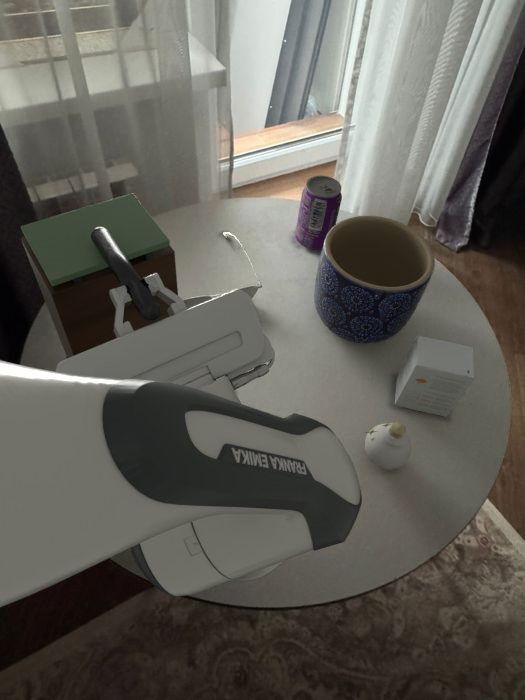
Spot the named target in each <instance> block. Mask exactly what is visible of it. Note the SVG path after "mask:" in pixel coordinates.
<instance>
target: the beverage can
mask: <svg viewBox="0 0 525 700" xmlns="http://www.w3.org/2000/svg"><path fill="white" fill-rule="evenodd" d="M342 200H343V194H342V185H341V183H340V182H339V181H338V180H337V179H335V178H333V177H332V176H329V175H314V176H311V177H309V178H308V179H307V180H306V183H305V186H304V187H303V188H302V191H301V195H300V202H299V208H298V216H297V222H296V227H295V234H294V237H295V239H296V241H297V242H298V244H299V245H301V246H302V247H305V248H308V249H311V250H312V249H313V250H322V247H323V244H324V240H325V237H326V235H327V233H328V232H329V230H330V229H331V228H332V227H333V226H334V225H336V224H337V221H338V217H339V213H340V209H341V204H342Z"/></svg>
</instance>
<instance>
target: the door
mask: <svg viewBox="0 0 525 700" xmlns="http://www.w3.org/2000/svg"><path fill="white" fill-rule="evenodd" d="M20 229H21V233H22V234H23V235H24V236H23V237H26V239H27V241H28V243H29V245H30V247H31V248H32V250H33V252H34V254H35V256H36V258H37V259H38V261H39V263H40V265H41V267H42V268H43V270H44V272H45V274H46V276H47V278H48V279H49V281H50V283H51V285H52V286H55V285H58V284H61V283H64V282H67V281H70V280H73V279H75V278H78V277H81V276H84V275H87V274H90V273H93V272H96V271H98V270H101V269H104V268H107V267H109V268H110V269H111V271H112V272H113V274H114V275H115V277H116V278H117V280H118V281H119V283H120V284H121V286H122V285H125V287H126V288H127V293H128V294H129V295H130V297H131V299H132V303H133V304H134V306H135V307H136V309H137V311H138V312H139V314H140V315H141V317H142V318H143V319H145V320H147V321H154V320H156V319H157V318H158V317H159V316H160V314H161V308H160V305H159V304H158V302H157V301H156V300H155V298H154V297H153V295H152V294H151V292H150V291H149V289H148V288H147V286H146V285H145V284H144V282H143V281H142V279H141V278H140V276H139V275H138V273H137V272H136V270H135V269H134V268H133V266H132V265H131V263H130V262H129V260H130V259H133V258H136V257H139V256H141V255H144V254H147V253H150V252H153V251H156V250H159V249H162V248H164V247H167V246H171V241H170V239H169V238H168V236H167V235H166V234H165V233H164V231H163V229H161V227H160V226H159V225H158V224H157V222H156V221H155V219H153V217H152V216H151V214H150V213H149V212H148V210H147V209H146V208H145V207H144V205H143V204H142V203H141V202H140V200H139V199H138V197H137V196H136V195H135V193H132V192H131V193H128V194H126V195H122V196H118V197H115V198H112V199H109V200H105V201H101V202H99V203H95V204H92V205H87V206H85V207H81V208H77V209H74V210H71V211H68V212H67V211H66V212H65V213H61V214H57V215H54V216H50V217H48V218H44V219H40V220H38V221H34V222H30V223H27V224H24V225H23V224H22V225H21V226H20Z"/></svg>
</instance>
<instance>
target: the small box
mask: <svg viewBox="0 0 525 700" xmlns="http://www.w3.org/2000/svg"><path fill="white" fill-rule="evenodd" d="M474 362H475V361H474V347H473V346H469V345H465V344H460V343H456V342H450V341H446V340H440V339H436V338H432V337H427V336H422V335H417V336H416V337H415V339H414V341H413V344H412V345H411V347H410V349H409V351H408V353H407V355H406V357H405V359H404V361H403V363H402V365H401V367H400V370H399V371H398V374H397V375H396V382H395V395H394V406H395V407H400V408H405V409H408V410H414V411H418V412H423V413H427V414H431V415H436V416H440V417H444V418H447V417H448V416H449V415H450V414H451V413H452V411H453V409H454V408H455V407H456V405H457V404H458V403H459V401H460V400H461V399H462V397H463V396H464V395H465V393H466V391H467V390H468V388H469V387H471V384H472V383H473V382H474V380H475V368H474V367H475V366H474V365H475V364H474Z"/></svg>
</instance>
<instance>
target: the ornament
mask: <svg viewBox="0 0 525 700" xmlns="http://www.w3.org/2000/svg"><path fill="white" fill-rule="evenodd" d="M364 433H365V434H366V436H365V439H364V451H365V455H366V456H367V459H368V460H369V461H370V462H371V463H372V464H373V465H375V467H378V468H380V469H383V470H394V469H398V468H400V467H402V466H403V465H404V464H405V463H407V461H408V460H409V458H410V456H411V452H412V442H411V439H410V436H409V435H408V433H407V429H406V426H405V424H404V423H403V422H400V421H394V422H391V423H389V422H387V423H381V424H377V425H375V426H374V427H372V428H371V429H370V430H369V431H366V432H364Z"/></svg>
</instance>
